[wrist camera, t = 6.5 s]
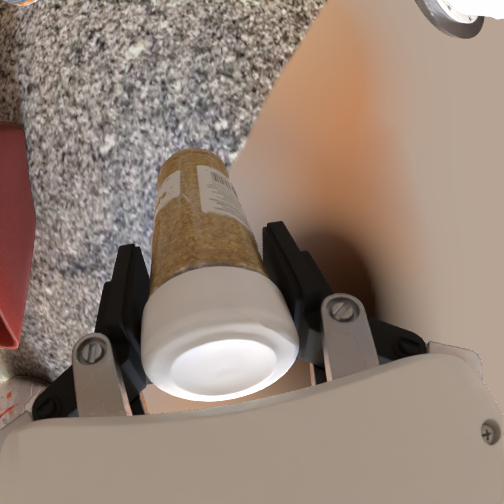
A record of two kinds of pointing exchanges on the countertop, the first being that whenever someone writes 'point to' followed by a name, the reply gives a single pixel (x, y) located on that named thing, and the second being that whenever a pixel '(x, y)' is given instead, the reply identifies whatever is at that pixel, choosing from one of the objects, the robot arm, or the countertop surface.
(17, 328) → the flower pot
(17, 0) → the pill bottle
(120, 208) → the countertop surface
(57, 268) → the countertop surface
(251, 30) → the countertop surface
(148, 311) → the sprinkles bottle
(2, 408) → the vase
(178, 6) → the countertop surface
